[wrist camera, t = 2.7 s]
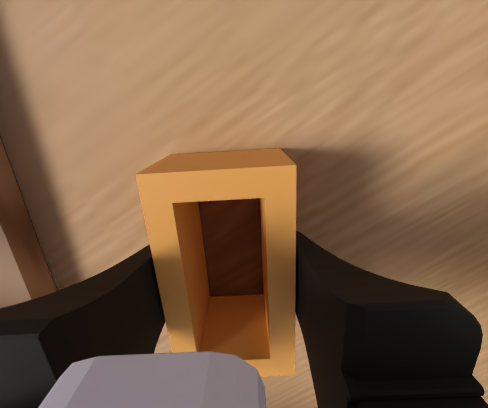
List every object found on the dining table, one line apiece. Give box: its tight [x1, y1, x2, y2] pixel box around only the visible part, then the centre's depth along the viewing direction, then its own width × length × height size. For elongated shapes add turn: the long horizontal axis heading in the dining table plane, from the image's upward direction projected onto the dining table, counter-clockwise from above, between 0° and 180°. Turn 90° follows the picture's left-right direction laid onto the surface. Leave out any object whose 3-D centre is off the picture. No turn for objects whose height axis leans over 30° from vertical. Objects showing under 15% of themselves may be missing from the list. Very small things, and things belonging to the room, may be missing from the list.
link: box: [135, 148, 296, 377], centre depth 11 cm, size 9×5×4 cm, turn 3°
